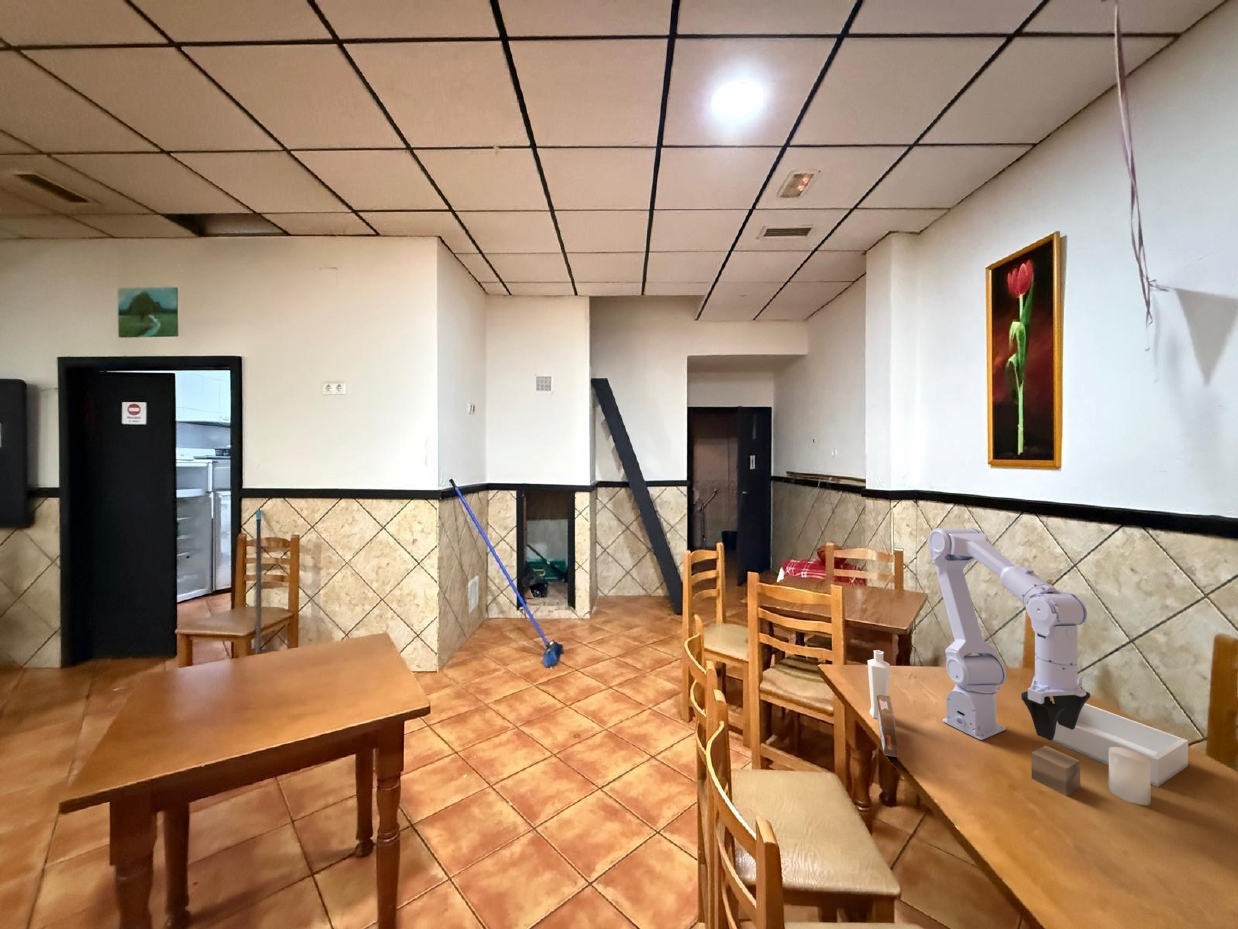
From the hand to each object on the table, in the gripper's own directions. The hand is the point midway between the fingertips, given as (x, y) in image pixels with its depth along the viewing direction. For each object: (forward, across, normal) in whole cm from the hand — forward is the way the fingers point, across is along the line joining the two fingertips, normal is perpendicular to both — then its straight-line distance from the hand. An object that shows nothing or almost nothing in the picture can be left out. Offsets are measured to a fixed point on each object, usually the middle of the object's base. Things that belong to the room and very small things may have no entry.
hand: (1055, 732), depth 85 cm
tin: (+10, -17, +21) cm, 29 cm away
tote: (+9, +22, 0) cm, 24 cm away
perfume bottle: (+10, -9, +29) cm, 32 cm away
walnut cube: (+10, 0, 0) cm, 10 cm away
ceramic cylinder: (+10, +8, -7) cm, 14 cm away
